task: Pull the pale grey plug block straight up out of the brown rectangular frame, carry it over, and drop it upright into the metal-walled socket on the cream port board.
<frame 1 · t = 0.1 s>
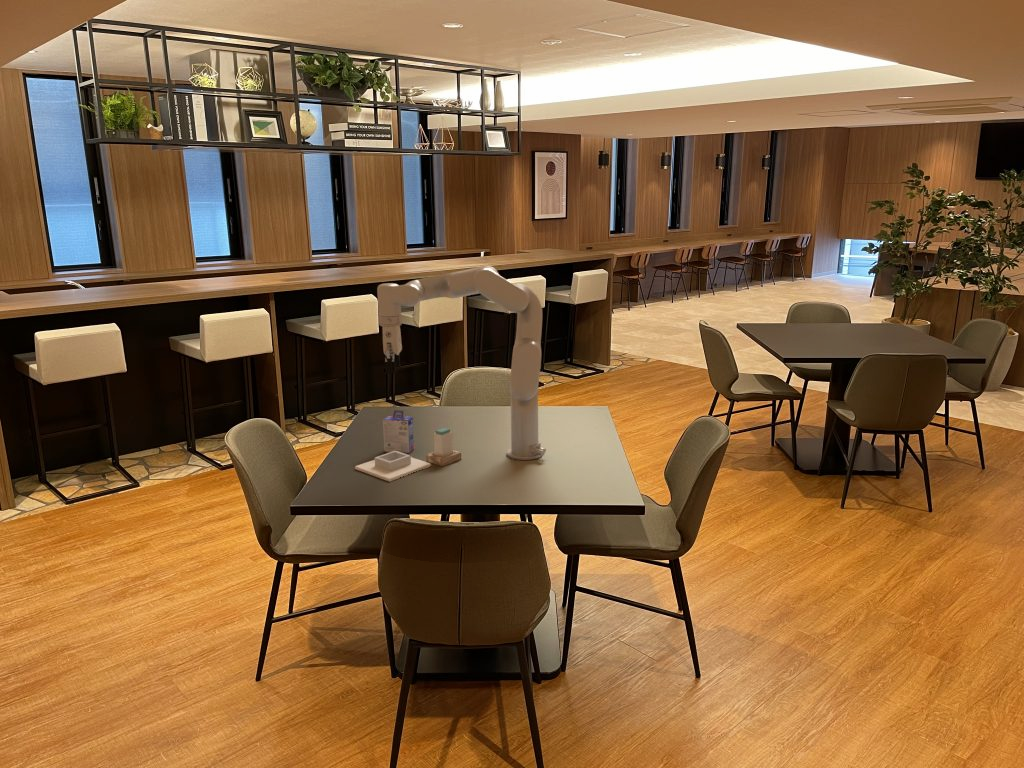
hand: (393, 369, 265), 31 cm above the table, tool pointing down, fingers open, 9 cm apart
port board: (393, 467, 261), on the table
brown rectangular frame: (444, 460, 268), on the table
ink cartridge box: (399, 450, 279), on the table
plug: (443, 445, 266), in the brown rectangular frame
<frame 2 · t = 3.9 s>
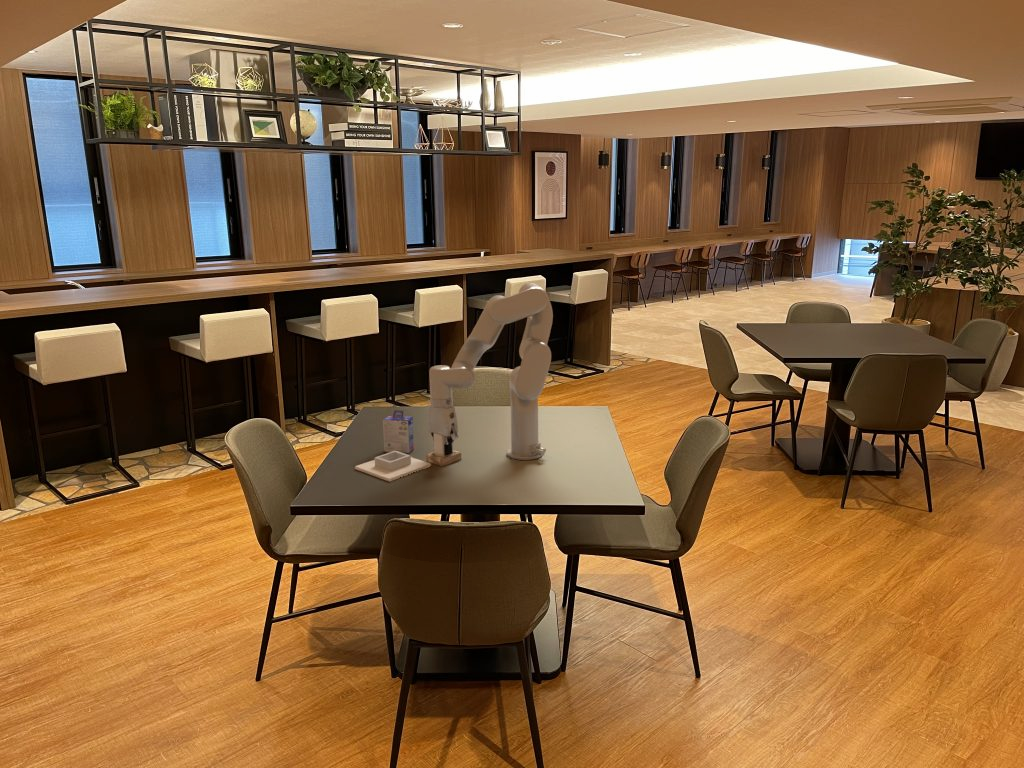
hand: (443, 452, 267), 3 cm above the table, tool pointing down, fingers closed on plug, 4 cm apart
plug: (443, 445, 266), in the brown rectangular frame, touching gripper
everything else where it was.
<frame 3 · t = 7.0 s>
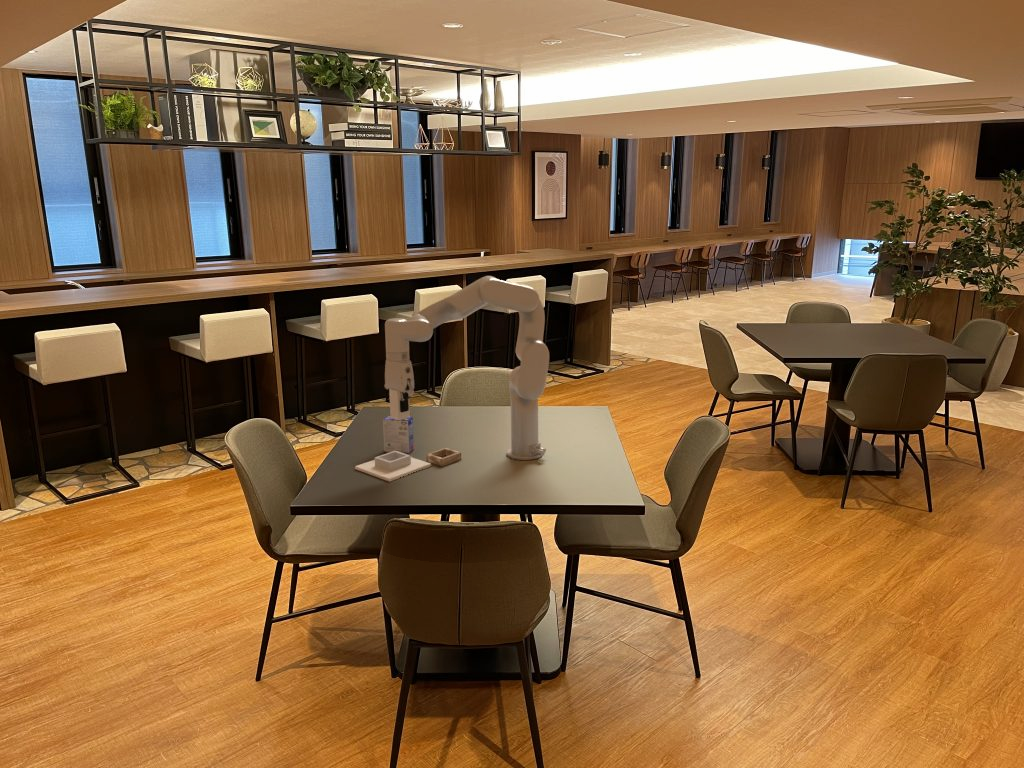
hand: (399, 409, 258), 20 cm above the table, tool pointing down, fingers closed on plug, 4 cm apart
plug: (399, 401, 257), point 23 cm above the table, touching gripper
everything else where it was.
when the fingers open (5 cm above the table, at t = 10.3 s): plug drops 1 cm, resting on port board.
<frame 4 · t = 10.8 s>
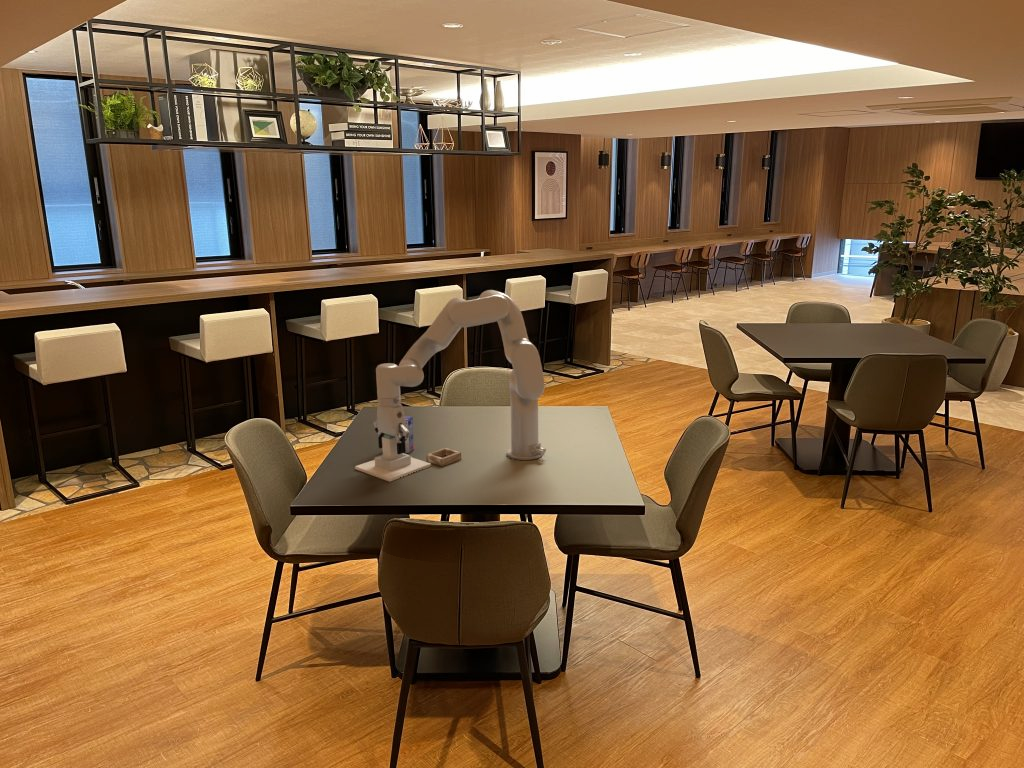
hand: (392, 450, 260), 6 cm above the table, tool pointing down, fingers open, 9 cm apart
plug: (392, 449, 260), in the port board, point 6 cm above the table
everything else where it was.
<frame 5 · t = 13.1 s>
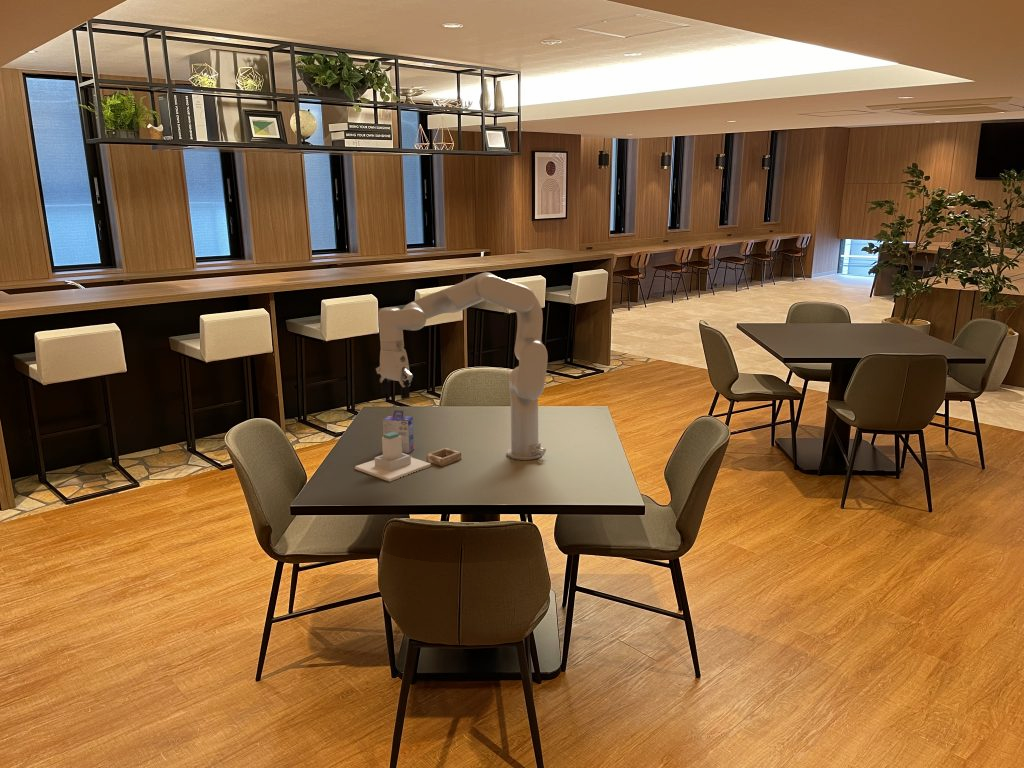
hand: (395, 395, 257), 25 cm above the table, tool pointing down, fingers open, 9 cm apart
nothing on the table moved.
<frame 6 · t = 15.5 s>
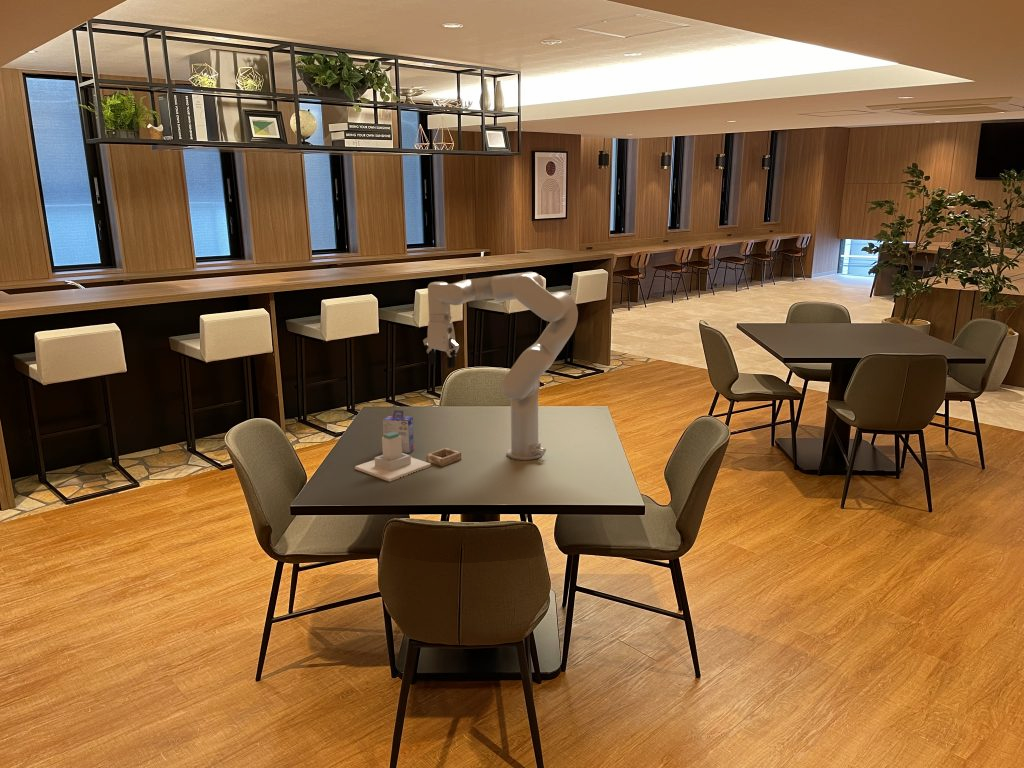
hand: (441, 365, 274), 30 cm above the table, tool pointing down, fingers open, 9 cm apart
nothing on the table moved.
at the end: plug 0.0 cm off-centre on the port board, point 6.5 cm above the port board's base; plug tilted 0°; the gripper is holding nothing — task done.
